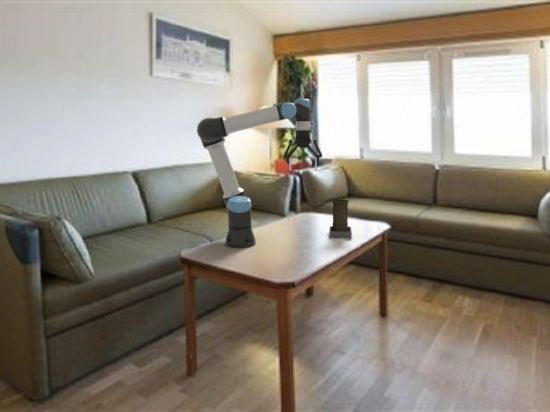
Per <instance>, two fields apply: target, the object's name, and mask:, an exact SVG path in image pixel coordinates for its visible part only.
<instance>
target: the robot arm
mask: <svg viewBox="0 0 550 412" xmlns="http://www.w3.org/2000/svg"><path fill="white" fill-rule="evenodd" d="M289 119H295V129H296V130H295V139H292V138H290V139H289V144H288V145H287V148H286V150H285V151H284V154H283V157H284V158H286V163H287V165H289V167H288V170H289V171H290V172H291V171H292V158H291V156H292V155H293V154H294V153H295V151H297V150H298V148H300V149H301V148H302V149H303V148H304V149H305V148H308V149H309V151H311V153H312V154H313V155H314V156H315V158H314V162H315V163H314V171H315V172H316V171H318V170H317V169H318V167H317V166H318V165H319V164H320V163H319V162H320V158H322V157H323V153H322V151H321V149H320V147H319V145H318V142H317V139H316V138H313V139H311V130H310V129H311V100H309V99H308V98H302V99H300V98H298V99H295V101H294V103H293V102H287V101H286V102H283V103H279V102H278V103H273V105H272V106H268V107H264V108H260V109H256V110H252V111H249V112H245V113H244V112H243V113H240V114H236V115H233V116H229V117H224V116H220V117H214V118H213V117H205V118H203V119H201V120H200V122H198V125H197V128H196V132H197V135H198V138H199V139H200V140H201V145H202V146H203V148H204V149H205V150H207V151H208V154H209V157H210V158H211V161H212V164H213V167H214V170H215V173H216V174H217V177H218V179H219V182H220V186H221V188H222V191H223V196H222V199H223V201H224V204H225V207H226V209H227V223H228V224H227V225H228V226H227V227H228V229H227V234H226V236H225V240H224V241H225V246H226V245H227V247H229V248H237V249H238V248H240V249H241V248H249V247H253V246H254V245H256V237H255V235H254V231H253V228H252V226H253V225H252V201H251V198H249V196H247V194H246V192H245V191H244V189H243V188H242V187H240V185H239V182H238V180H237V176H236V174H235V171H234V168H233V166H232V163H231V161H230V160H231V159H230V157H229V155H228V152H227V149H226V146H225V142H226V139H225V138H226V137H229V135H230V134H233V133H237V132H241V131H245V130H248V129H252V128H253V129H254V128H256V127H259V126H265V125H268V124H272V123H275V122H276V123H277V122H280V121H284V120H289ZM294 143H295V144H296V145H295V147H294V148H293V149H292V150H291V151H290V149H291V147H292V145H293V144H294ZM311 143H312V144H314V147H315V149H316V151H317V152H316V151H315V149H314V148H313V147H312V146H311V145H310V144H311ZM289 151H290V152H289Z"/></svg>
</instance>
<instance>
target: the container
mask: <svg viewBox="0 0 550 412" xmlns="http://www.w3.org/2000/svg"><path fill="white" fill-rule="evenodd" d="M349 202H350V201H349V200H348V199H344V198H343V199H342V198H340V199H339V198H338V199H333V200H332V206H333V207H332V226H333V228H332V231H343V232H348V227H349V223H348V222H349V221H348V220H349V219H348V218H349V217H348V215H349V213H348V212H349V208H348V206H349Z"/></svg>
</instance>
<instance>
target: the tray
mask: <svg viewBox="0 0 550 412" xmlns="http://www.w3.org/2000/svg"><path fill="white" fill-rule="evenodd" d="M332 228H333V225H332V226H329V231H328V232H329V234H328V237H329V239H352V235H353V234H352V232H353V231H352V226H348V232H343V231H332Z"/></svg>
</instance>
